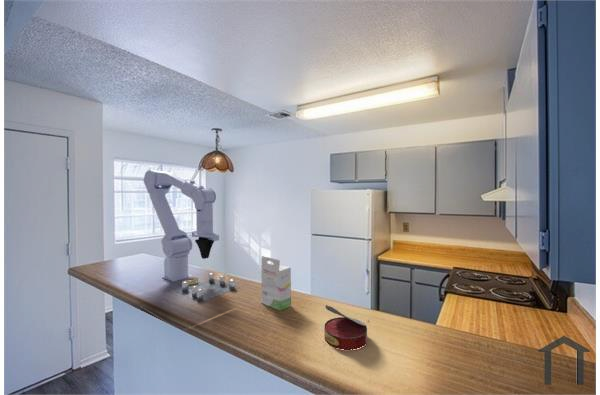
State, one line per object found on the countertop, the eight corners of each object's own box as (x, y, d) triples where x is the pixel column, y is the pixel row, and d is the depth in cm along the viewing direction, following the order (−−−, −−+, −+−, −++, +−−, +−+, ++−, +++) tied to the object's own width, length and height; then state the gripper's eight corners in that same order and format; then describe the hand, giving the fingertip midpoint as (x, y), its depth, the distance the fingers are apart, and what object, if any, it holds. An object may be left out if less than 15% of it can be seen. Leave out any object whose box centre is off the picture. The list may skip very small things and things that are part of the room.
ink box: (292, 306, 85) (291, 257, 84) (280, 311, 81) (279, 260, 81) (272, 298, 91) (272, 252, 90) (260, 303, 87) (260, 255, 87)
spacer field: (174, 292, 96) (174, 282, 96) (214, 280, 109) (214, 271, 109) (199, 303, 87) (199, 292, 87) (240, 288, 99) (240, 279, 99)
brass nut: (181, 285, 104) (181, 279, 104) (193, 281, 108) (193, 276, 108) (188, 288, 101) (188, 282, 101) (201, 284, 105) (200, 279, 105)
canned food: (325, 351, 70) (320, 308, 74) (366, 347, 69) (359, 304, 74) (326, 354, 59) (320, 304, 64) (374, 349, 59) (365, 299, 64)
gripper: (184, 221, 106) (184, 257, 107) (206, 224, 97) (207, 263, 98) (201, 219, 112) (201, 253, 112) (223, 222, 103) (224, 259, 103)
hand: (205, 258), depth 105 cm, fingers closed
